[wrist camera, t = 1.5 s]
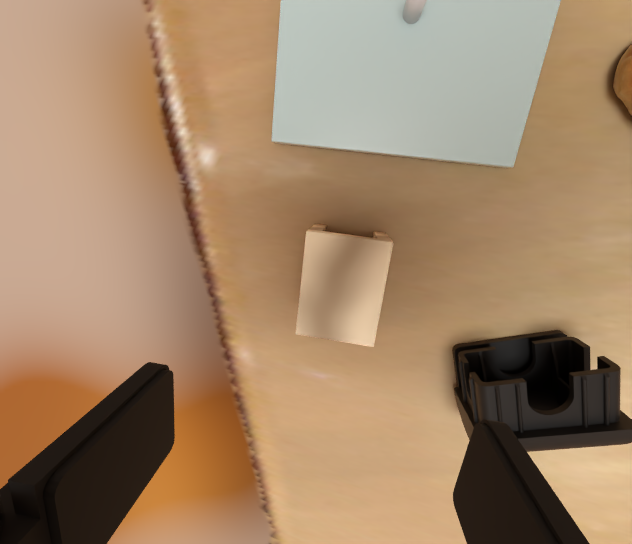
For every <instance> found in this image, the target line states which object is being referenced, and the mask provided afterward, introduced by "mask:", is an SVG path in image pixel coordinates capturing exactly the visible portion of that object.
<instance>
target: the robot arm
mask: <svg viewBox="0 0 632 544" xmlns="http://www.w3.org/2000/svg"><path fill="white" fill-rule="evenodd" d="M173 444H174V389H173V372H172V371H169V367H168V366H167V365H162V364H157V363H151V362H149V363H147V364H145V365H144V366H142V367H141V368H140V369H139V370H138V371H136V372H135V373H134V374H133V375H132V376H131V377H129V378H128V379H127V380H126V381H125V382H124V383H122V384H121V385H120V386H119V387H118V388H116V389H115V390H114V391H113V392H112V393H110V394H109V395H108V396H107V397H106V398H105V399H103V400H102V401H101V402H100V403H99V404H98V405H96V406H95V407H94V408H93V409H91V410H90V411H89V412H88V413H87V414H86V415H84V416H83V417H82V418H81V419H80V420H79V421H77V422H76V423H75V424H74V425H73V426H71V427H70V428H69V429H68V430H67V431H66V432H64V433H63V434H62V435H61V436H60V437H58V438H57V439H56V440H55V441H54V442H53V443H51V444H50V445H49V446H48V447H47V448H45V449H44V450H43V451H42V452H41V453H40V454H38V455H37V456H36V457H35V458H33V459H32V460H31V461H30V462H29V463H28V464H26V465H25V466H24V467H23V468H22V469H20V471H18V472H17V473H16V474H15V475H14V476H12V477H11V478H10V479H9V480H8V483H7V484H6V485H5V486H4V487H3V488H1V489H0V544H107V542H108V541H109V539H110V538H111V536H112V535H113V534H114V532H115V531H116V529H117V528H118V526H119V525H120V523H121V522H122V520H123V519H124V518H125V516H126V515H127V513H128V512H129V510H130V509H131V507H132V506H133V505H134V503H135V502H136V500H137V499H138V497H139V496H140V494H141V493H142V491H143V490H144V489H145V487H146V486H147V484H148V483H149V481H150V480H151V478H152V477H153V476H154V474H155V473H156V471H157V470H158V468H159V466H160V465H161V464H162V462H163V461H164V459H165V458H166V457H167V455H168V454H169V452H170V451H171V449H172V446H173ZM453 501H454V506H455V509H456V512H457V515H458V518H459V521H460V524H461V527H462V530H463V533H464V536H465V539H466V542H467V544H589V542H588V541H587V539H586V538H585V536H584V535H583V533H582V532H581V531H580V529H579V528H578V526H577V525H576V523H575V522H574V520H573V519H572V517H571V516H570V515H569V513H568V512H567V510H566V509H565V507H564V506H563V504H562V503H561V501H560V500H559V498H558V497H557V496H556V494H555V493H554V491H553V490H552V488H551V487H550V485H549V484H548V482H547V481H546V480H545V478H544V477H543V475H542V474H541V472H540V471H539V469H538V468H537V466H536V465H535V463H534V462H533V461H532V459H531V458H530V456H529V455H528V453H527V452H526V450H525V449H524V447H523V446H522V444H521V443H520V442H519V440H518V439H517V437H516V436H515V434H514V433H513V431H512V430H511V428H510V427H509V426H508V425H507V424H506V423H504V422H499V421H493V420H487V419H483V420H482V421H481V422H480V424H479V423H477V424H475V426H474V429H473V432H472V435H471V438H470V441H469V444H468V447H467V451H466V454H465V457H464V460H463V463H462V466H461V469H460V472H459V476H458V479H457V482H456V485H455V488H454V492H453Z"/></svg>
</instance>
